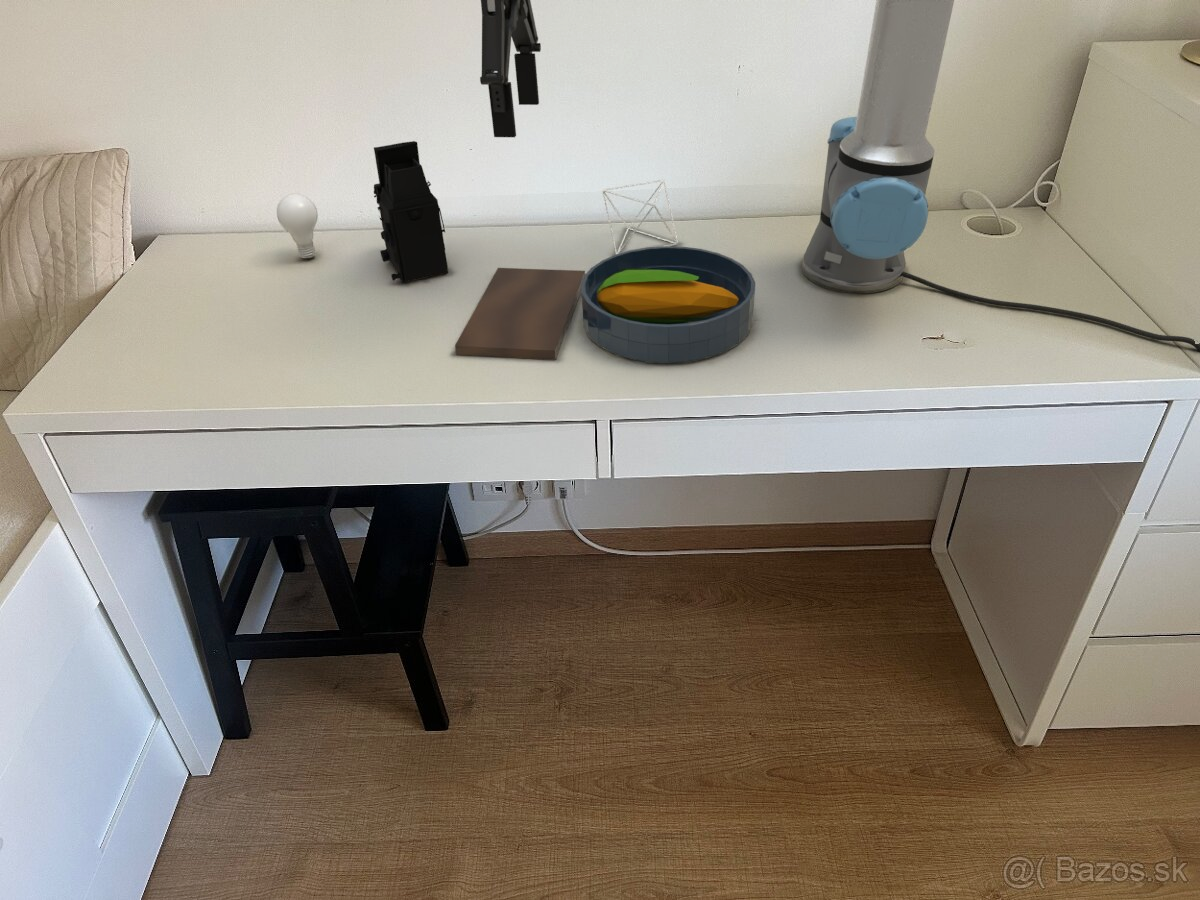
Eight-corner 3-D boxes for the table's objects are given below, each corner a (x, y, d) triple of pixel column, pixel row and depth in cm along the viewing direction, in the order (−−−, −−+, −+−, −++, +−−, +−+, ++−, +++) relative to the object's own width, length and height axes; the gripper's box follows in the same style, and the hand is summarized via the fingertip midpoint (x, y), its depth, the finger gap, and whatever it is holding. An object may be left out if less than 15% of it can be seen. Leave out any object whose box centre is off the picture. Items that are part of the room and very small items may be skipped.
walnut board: (585, 279, 140) (585, 270, 139) (555, 359, 122) (554, 350, 121) (498, 276, 142) (497, 267, 142) (456, 354, 124) (454, 345, 123)
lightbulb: (335, 254, 151) (321, 191, 145) (307, 269, 147) (291, 205, 140) (309, 247, 154) (293, 184, 147) (281, 261, 150) (263, 198, 143)
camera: (431, 243, 154) (412, 123, 141) (456, 273, 144) (437, 148, 131) (374, 255, 150) (349, 135, 138) (395, 288, 140) (371, 161, 128)
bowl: (754, 285, 137) (756, 248, 133) (750, 370, 118) (753, 330, 114) (597, 279, 140) (596, 243, 136) (569, 361, 121) (566, 322, 118)
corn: (599, 255, 128) (741, 259, 125) (602, 301, 133) (738, 306, 130) (591, 282, 122) (739, 287, 120) (594, 329, 127) (736, 335, 125)
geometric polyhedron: (598, 234, 154) (596, 182, 148) (658, 223, 156) (657, 172, 151) (622, 264, 144) (620, 210, 139) (685, 252, 147) (686, 199, 141)
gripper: (495, -78, 116) (512, 91, 129) (437, -45, 97) (464, 151, 110) (552, -79, 115) (563, 92, 128) (505, -46, 96) (523, 152, 109)
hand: (517, 119), depth 119 cm, fingers open, 13 cm apart
